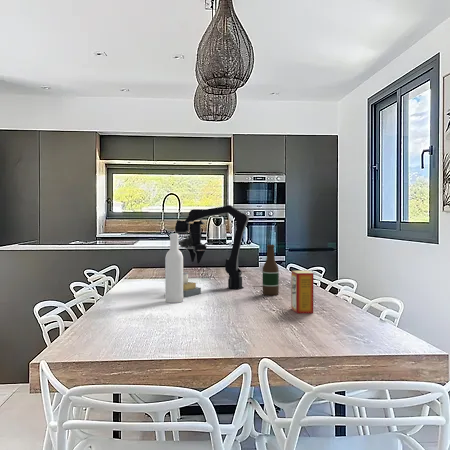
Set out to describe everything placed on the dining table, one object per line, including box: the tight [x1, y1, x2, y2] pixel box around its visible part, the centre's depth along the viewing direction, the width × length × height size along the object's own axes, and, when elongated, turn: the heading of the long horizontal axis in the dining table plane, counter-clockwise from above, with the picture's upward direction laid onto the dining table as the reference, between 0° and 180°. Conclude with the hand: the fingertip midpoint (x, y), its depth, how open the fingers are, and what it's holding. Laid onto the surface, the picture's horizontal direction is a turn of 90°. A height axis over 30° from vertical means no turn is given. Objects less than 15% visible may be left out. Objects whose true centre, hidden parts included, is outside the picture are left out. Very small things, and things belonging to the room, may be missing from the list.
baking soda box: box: [290, 269, 314, 314], centre depth 193 cm, size 10×6×16 cm
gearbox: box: [183, 281, 202, 298], centre depth 233 cm, size 14×12×6 cm
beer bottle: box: [262, 244, 280, 297], centre depth 233 cm, size 8×8×24 cm
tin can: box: [183, 271, 189, 284], centre depth 233 cm, size 5×5×7 cm
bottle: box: [164, 232, 184, 304], centre depth 214 cm, size 8×8×30 cm
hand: (195, 262), depth 256 cm, fingers open, 9 cm apart
